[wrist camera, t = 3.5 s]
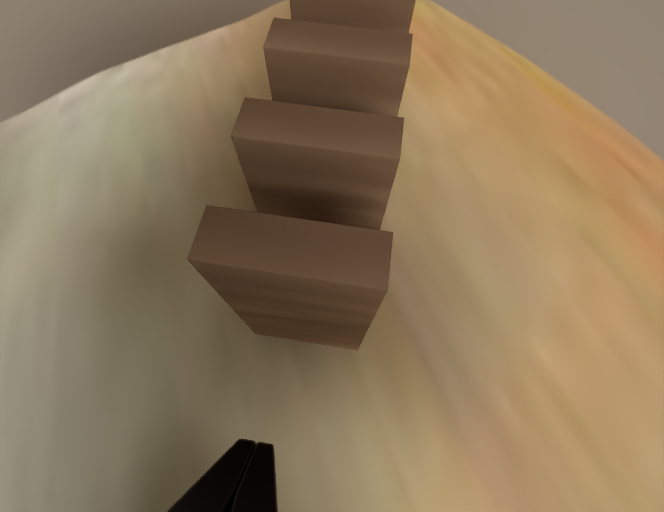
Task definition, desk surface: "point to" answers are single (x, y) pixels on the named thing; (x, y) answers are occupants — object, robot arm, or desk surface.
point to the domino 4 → (356, 13)
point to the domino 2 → (318, 161)
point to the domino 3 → (337, 66)
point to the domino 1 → (294, 273)
